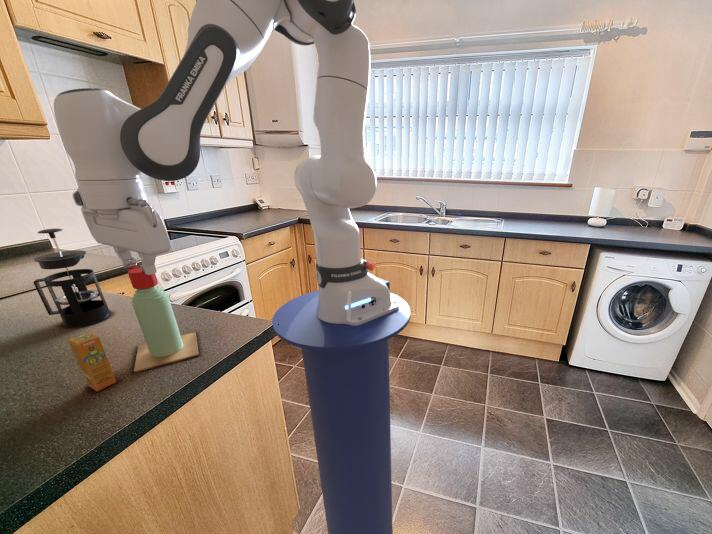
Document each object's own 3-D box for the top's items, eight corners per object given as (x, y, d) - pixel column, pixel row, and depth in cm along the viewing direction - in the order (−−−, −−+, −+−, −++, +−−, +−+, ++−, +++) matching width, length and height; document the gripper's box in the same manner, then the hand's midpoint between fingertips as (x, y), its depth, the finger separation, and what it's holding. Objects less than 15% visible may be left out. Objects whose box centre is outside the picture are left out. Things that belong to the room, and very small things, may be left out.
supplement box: (97, 392, 60) (74, 344, 56) (88, 386, 61) (66, 339, 57) (118, 382, 62) (98, 335, 58) (109, 376, 64) (90, 330, 60)
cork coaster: (195, 333, 79) (195, 332, 79) (198, 355, 70) (198, 354, 70) (138, 346, 74) (138, 345, 73) (134, 372, 65) (133, 370, 65)
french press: (117, 307, 92) (85, 223, 83) (110, 321, 85) (74, 230, 75) (61, 317, 87) (19, 228, 78) (48, 332, 79) (1, 236, 70)
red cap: (158, 280, 68) (153, 265, 67) (157, 286, 65) (152, 270, 64) (134, 284, 67) (128, 268, 65) (132, 291, 63) (126, 274, 62)
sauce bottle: (183, 339, 76) (160, 265, 69) (183, 351, 71) (159, 273, 64) (151, 347, 73) (123, 270, 66) (149, 360, 68) (120, 279, 61)
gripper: (169, 197, 57) (189, 274, 63) (108, 191, 66) (130, 259, 71) (127, 202, 52) (153, 285, 58) (67, 194, 61) (95, 267, 66)
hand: (140, 271), depth 65 cm, fingers open, 5 cm apart
